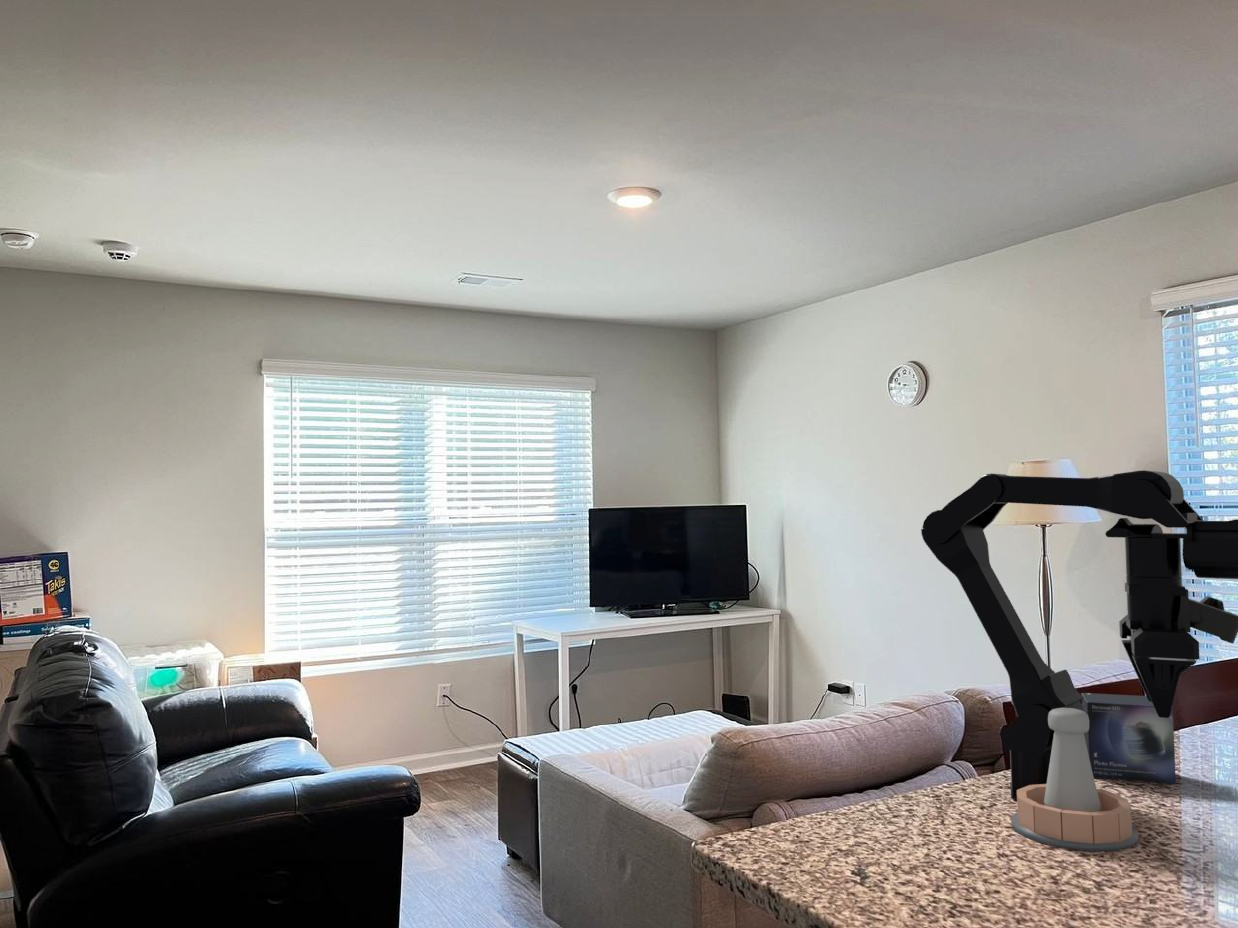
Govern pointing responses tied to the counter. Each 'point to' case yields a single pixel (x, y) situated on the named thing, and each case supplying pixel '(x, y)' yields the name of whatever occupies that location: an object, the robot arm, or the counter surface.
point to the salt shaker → (1070, 763)
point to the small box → (1129, 739)
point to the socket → (1075, 822)
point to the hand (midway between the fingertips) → (1158, 709)
